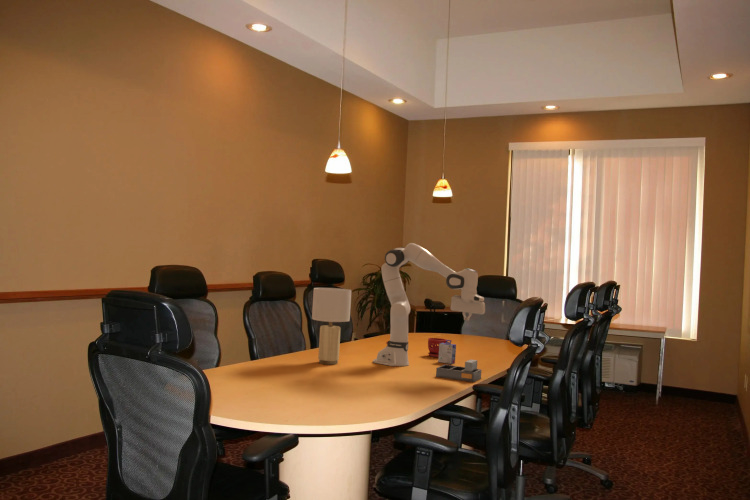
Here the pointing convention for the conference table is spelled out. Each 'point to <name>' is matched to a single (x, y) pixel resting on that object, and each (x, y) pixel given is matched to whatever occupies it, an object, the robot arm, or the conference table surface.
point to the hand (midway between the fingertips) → (466, 320)
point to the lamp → (330, 320)
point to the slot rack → (457, 373)
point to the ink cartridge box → (447, 352)
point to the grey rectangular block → (471, 366)
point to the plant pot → (432, 348)
